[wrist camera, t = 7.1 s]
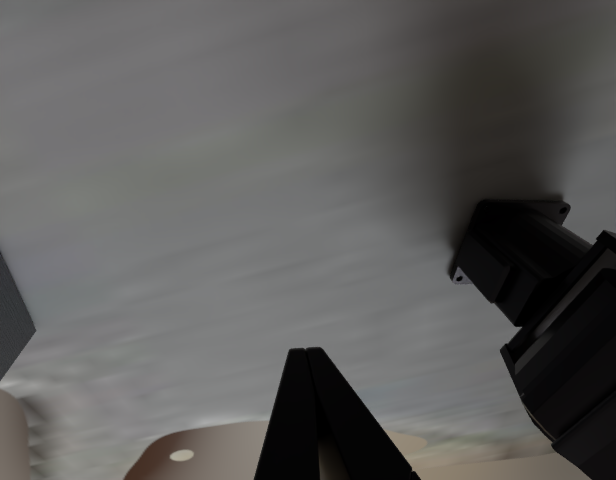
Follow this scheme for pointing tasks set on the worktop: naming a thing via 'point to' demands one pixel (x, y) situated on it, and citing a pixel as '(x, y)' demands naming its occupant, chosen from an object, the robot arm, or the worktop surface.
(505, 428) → the worktop surface
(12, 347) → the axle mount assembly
